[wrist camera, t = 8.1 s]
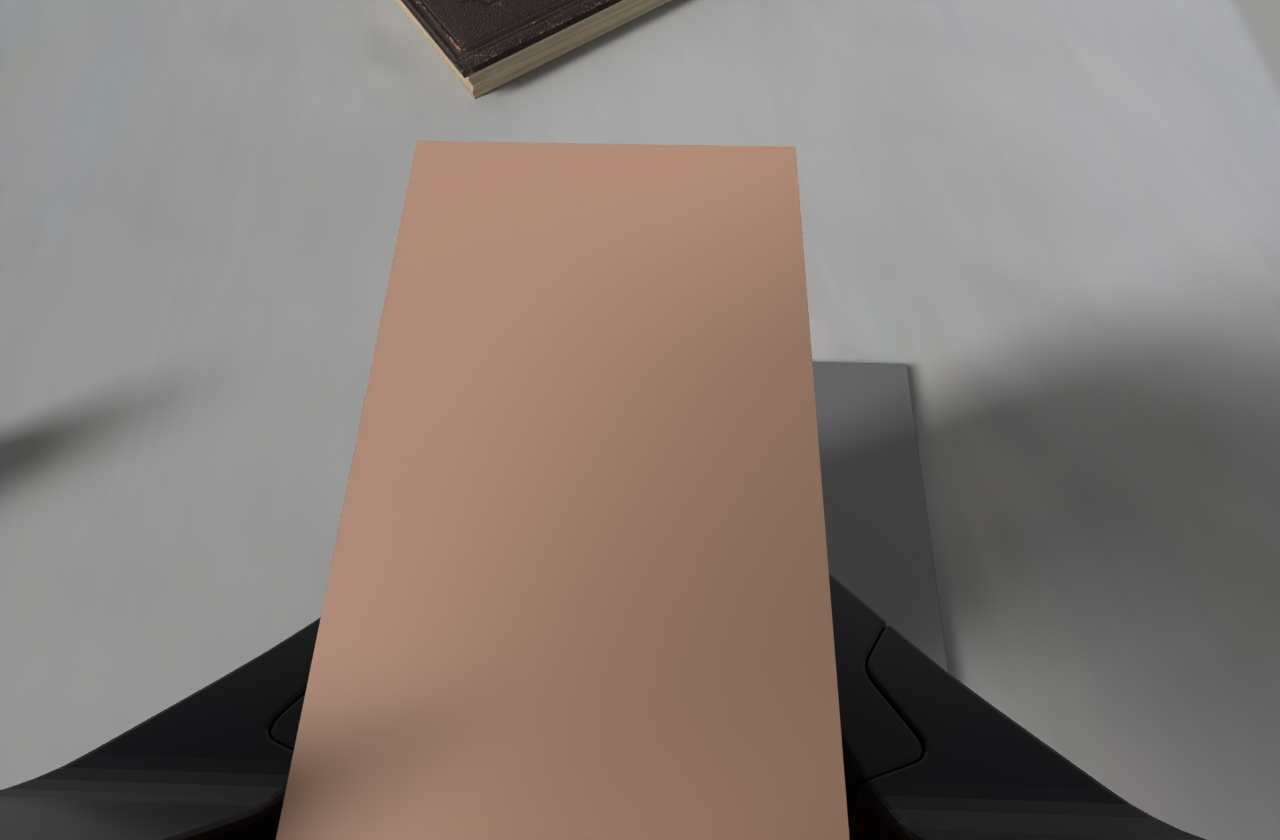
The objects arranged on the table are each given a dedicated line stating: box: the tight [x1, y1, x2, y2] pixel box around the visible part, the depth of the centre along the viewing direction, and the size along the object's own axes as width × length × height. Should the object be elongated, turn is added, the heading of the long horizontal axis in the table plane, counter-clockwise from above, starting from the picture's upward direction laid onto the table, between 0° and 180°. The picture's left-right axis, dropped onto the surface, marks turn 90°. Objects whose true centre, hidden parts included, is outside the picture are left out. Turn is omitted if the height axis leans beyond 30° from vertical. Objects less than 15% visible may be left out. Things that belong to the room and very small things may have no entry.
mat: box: [812, 362, 948, 672], centre depth 18 cm, size 18×18×1 cm
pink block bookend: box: [276, 141, 849, 840], centre depth 9 cm, size 6×5×12 cm
